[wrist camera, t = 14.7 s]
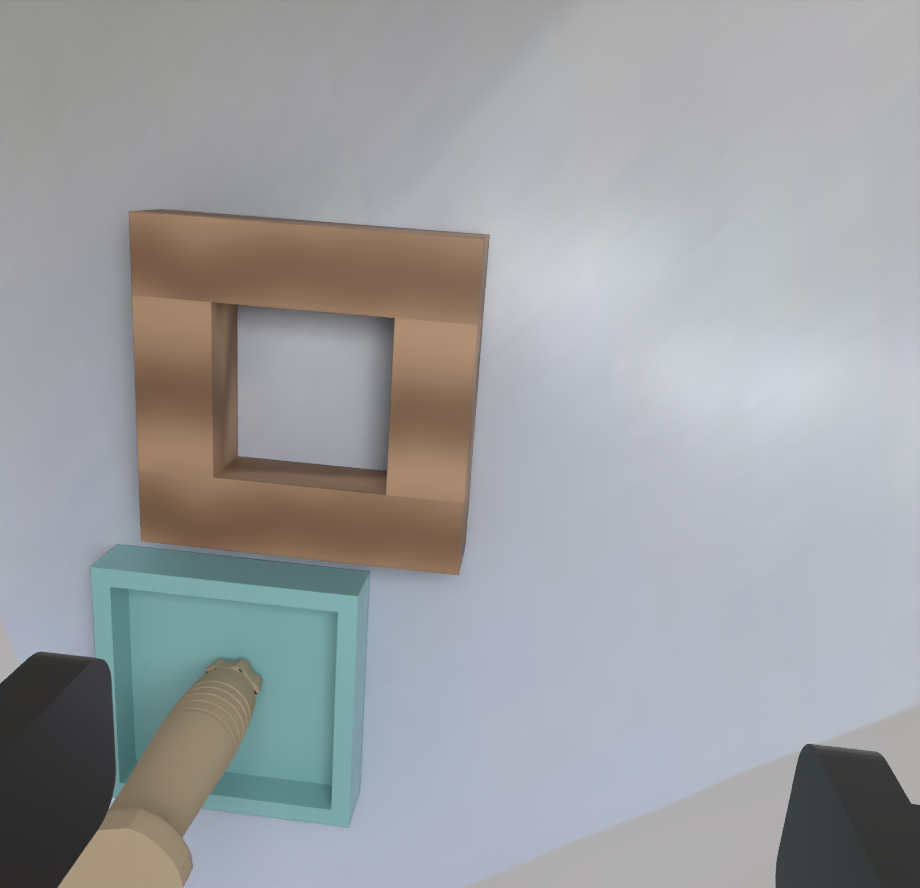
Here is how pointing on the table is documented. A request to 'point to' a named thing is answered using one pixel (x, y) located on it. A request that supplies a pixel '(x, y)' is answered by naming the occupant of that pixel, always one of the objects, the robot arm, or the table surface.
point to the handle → (171, 785)
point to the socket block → (215, 386)
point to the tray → (269, 654)
